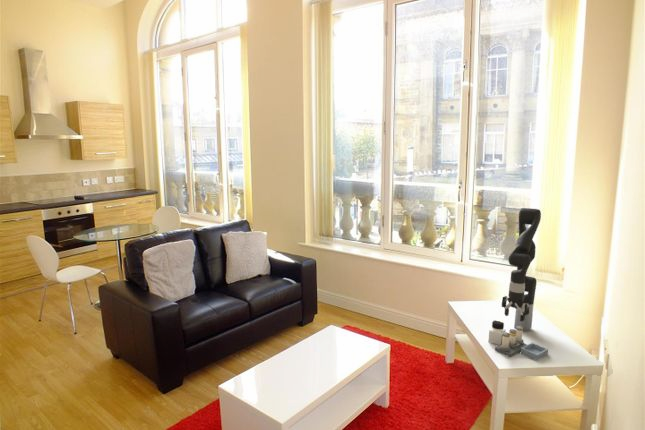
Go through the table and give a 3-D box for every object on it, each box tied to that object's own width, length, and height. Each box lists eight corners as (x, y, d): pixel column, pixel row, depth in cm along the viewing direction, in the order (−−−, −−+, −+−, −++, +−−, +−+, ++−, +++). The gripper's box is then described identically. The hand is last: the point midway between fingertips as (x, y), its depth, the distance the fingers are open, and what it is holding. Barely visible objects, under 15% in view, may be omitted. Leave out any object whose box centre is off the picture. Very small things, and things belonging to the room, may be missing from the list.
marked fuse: (510, 343, 228) (511, 328, 227) (516, 346, 225) (517, 331, 224) (506, 345, 226) (508, 330, 225) (512, 348, 223) (514, 332, 222)
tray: (531, 347, 228) (531, 342, 227) (547, 354, 220) (548, 349, 220) (520, 353, 221) (520, 348, 221) (537, 361, 214) (537, 355, 214)
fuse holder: (512, 341, 235) (514, 323, 233) (528, 347, 228) (530, 329, 226) (494, 350, 225) (495, 331, 223) (509, 357, 217) (511, 338, 215)
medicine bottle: (501, 345, 230) (503, 325, 228) (488, 341, 234) (489, 322, 232) (504, 340, 236) (506, 321, 233) (491, 337, 240) (493, 317, 238)
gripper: (533, 292, 216) (530, 321, 219) (508, 284, 228) (505, 312, 231) (526, 295, 212) (523, 324, 215) (500, 287, 224) (498, 315, 226)
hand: (514, 318), depth 223 cm, fingers open, 8 cm apart
